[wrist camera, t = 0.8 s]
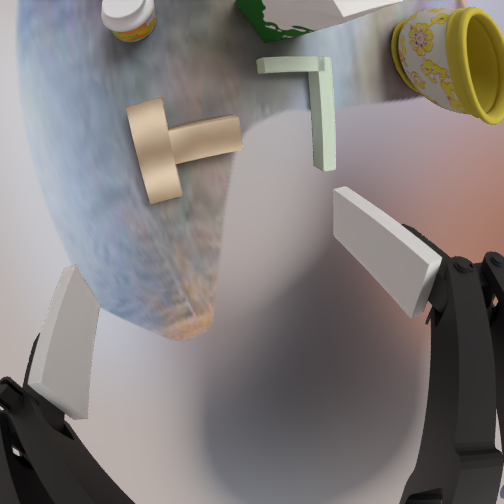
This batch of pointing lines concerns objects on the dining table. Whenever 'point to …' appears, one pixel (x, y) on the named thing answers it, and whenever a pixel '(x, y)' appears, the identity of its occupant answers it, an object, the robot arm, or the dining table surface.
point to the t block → (176, 145)
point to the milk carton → (303, 15)
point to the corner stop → (313, 101)
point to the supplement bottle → (129, 18)
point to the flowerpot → (453, 60)
